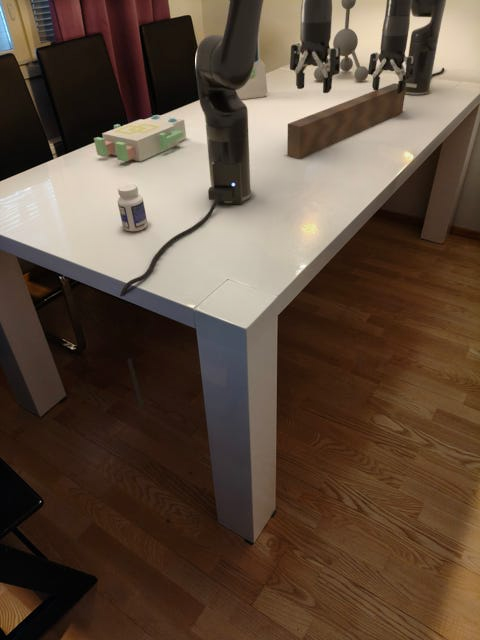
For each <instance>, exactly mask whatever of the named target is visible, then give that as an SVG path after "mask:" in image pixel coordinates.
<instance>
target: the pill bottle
mask: <svg viewBox="0 0 480 640" xmlns="http://www.w3.org/2000/svg"><path fill="white" fill-rule="evenodd" d="M117 193H118V196H119V197H118V199H117V206H118V210H119V211H118V212H119V215H120V219H121V224H122V227H123V229H124V230H125V231H128V232H138V231H141V230H144V229H146V227H147V226H148V217H147V214H146V208H145V203H144V198H143V196H142V195H141V194H139V188H138V185H137V184H135V183H132V182H131V183H123V184H121V185H119V186H118V187H117Z"/></svg>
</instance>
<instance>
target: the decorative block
mask: <svg viewBox="0 0 480 640" xmlns="http://www.w3.org/2000/svg"><path fill="white" fill-rule="evenodd" d="M186 133H187V132H186V124H185V119H183V118H177V117H170V116H166V115H160V114H155V115H152V116H151V117H148V118H145V119H141V118H140V119H137V120H134V121H132V122H129V123H127V124H123V125H122V126H121V124H119V123H116V124H113V129H110V130H108V131H105V132H102V133H101V135H102V137H100V136H97V137H93V142H94V145H95V150H96V155H97V156H99V157H107V156H109V155H111V156H116V158H117V160H118V161H120V162H128V161H130V160H132V161H137V162H143V161H145V160H147V159H149V158H152V157H155V156H156V155H158V154H161V153H163V152H165V151H167V150H170V149H172V148H175V147H176V146H178V143H180V142H182V141H185V140H186V139H187V134H186Z"/></svg>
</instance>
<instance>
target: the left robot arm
mask: <svg viewBox="0 0 480 640" xmlns="http://www.w3.org/2000/svg"><path fill="white" fill-rule="evenodd" d="M263 5H264V0H228V9H227V16H226V21H225V27H224V31H223V34H222V35H220V34H209V35H207V36H206V37H204V38H203V39H202V40H201V41H200V43H199V44H198V46H197V49H196V52H195V60H194V62H195V63H194V65H195V66H194V67H195V77H196V83H197V91H198V93H197V94H198V99H199V105H200V108H201V111H202V113H203V114H204V122H205V132H206V144H207V155H208V166H209V167H208V168H209V179H210V187H208V191H207V193H208V200H209V201H214V202H213V203H212V204H211V207H210V208H209V210H208V212H207V213H206V215H205V216H204V217H203V218H202V219H201V220H200V221H198V222H197V223H196V224H194V225H193V226H191V227H189V228H187V229H185V230H184V231H182V232H179V233H178V234H176V235H174V236H173V237H172V238H170V239H169V240H167V242H165V243H164V244H163V245H162V247H160V249H159V250H158V251H157V252H156V253H155V255H154V256H153V258H152V259H151V262H150V264H149V266H148V268H147V270H146V271H145V272H144V273H143V274H141V275H139V276H138V277H134V278H132V279H130V280H129V281H127V282H126V283H125V284H124V286H123V287H122V289H121V292H120V294H119V297H124V296H125V295H126V292H127V290H128V289H129V288H130V287H131V286H133V285H134V284H137V283H139V282H141V281H143V280H145V279H146V278H147V277H148V276H149V275H150V274H151V272H153V269H154V267H155V264H156V263H157V261H158V259H159V257H160V256H161V255H162V253H164V251H165V250H166V249H167V248H168V247H169V246H170V245H171V244H173V243H174V242H176V241H177V240H179V239H180V238H182V237H184V236H186V235H188V234H189V233H191V232H193V231H195V230H196V229H198V228H199V227H200V226H202V225H203V224H204V223H206V221H207V220H208V219H209V218H210V217H211V215H212V213H213V212H214V210H215V209H216V207H217V205H242V204H243V202H246V201H248V200H250V198H251V196H252V189H251V165H250V162H251V161H250V138H249V135H250V134H249V111H248V106H247V104H246V103H245V102H244V101H242V100H243V99H240V98H239V96H238V94H237V92H236V90H238V89H240V88H242V87H243V86H244V85H245V84H246V83H247V82H248V80H249V78H250V76H251V74H252V71H253V67H254V62H255V55H256V48H257V40H258V32H259V33H260V22H261V16H262V12H263V11H262V10H263ZM332 18H333V0H301V5H300V30H299V31H300V32H299V33H300V36H299V40H300V42H301V43H294V44H292V45H291V46H290V57H289V58H290V59H289V70H290V71H293V72H295V85H296V88H297V90H302V89H304V88H305V75H306V74H305V70H306V69H307V68H308V66H313V67H319V69H320V70H321V71H322V72H323V75H324V79H323V81H322V93H323V94H328V93H330V92H331V91H332V85H333V77H334V76H336V75H339V74H340V72H341V71H340V70H341V68H340V62H341V56H340V48H339V47H337V48H334V47H333V48H331V47H330V41H331V37H332V20H333V19H332ZM329 58H330V61H329ZM126 360H127V363H128V368H129V372H130V375H131V379H132V383H133V387H134V391H135V395H136V398H137V402H138V407H139V409H143V408H144V404H143V399H142V395H141V391H140V388H139V387H140V386H139V383H138V379H137V376H136V372H135V368H134V364H133V360H132V358H127V359H126Z"/></svg>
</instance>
